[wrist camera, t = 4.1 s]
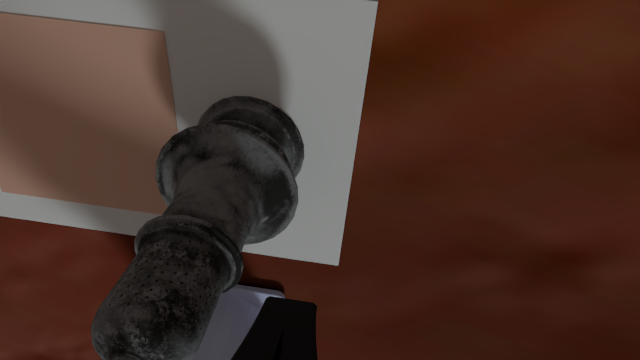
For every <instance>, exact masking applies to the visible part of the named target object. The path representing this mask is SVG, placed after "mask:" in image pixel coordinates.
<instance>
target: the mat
mask: <svg viewBox="0 0 640 360" xmlns="http://www.w3.org/2000/svg"><path fill="white" fill-rule="evenodd" d="M377 5H378V0H0V216H5V217H12V218H18V219H25V220H32V221H39V222H45V223H52V224H59V225H66V226H72V227H79V228H86V229H93V230H100V231H106V232H113V233H120V234H127V235H133V236H136V235H137V232H138V230H139V229H140V228H141V227H142V226H143V225H144V224H145V223H146V222H147V221H149V220H151V219H153V218H156V217H158V216H162V214H163V213H164V212H165V210H166V209H167V208H168V207H167V205H166V203H165V202H164V200H163V198H162V196H161V195H160V192H159V189H158V185H157V182H156V161H157V159H158V156H159V153H160V151H161V148H162V147H163V146H164V145H165V144H166V143H167V142H168V141H169V139H170V138H171V137H172V136H173V135H175V134H177V133H179V132H180V131H182V130H184V129H186V128H188V127H192V126H197V124H198V122H199V120H200V117H201V116H202V114H203V113H204V112H205V111H206V110H207V109H208V108H209V107H210V106H211V105H212V104H214V103H216V102H218V101H219V100H221V99H224V98H229V97H233V96H252V97H255V98H258V99H262V100H265V101H268V102H269V103H271V104H273V105H275V106H276V107H278V108H280V109H281V110H282V111H283V112H284V113H285V114H286V115H287V116H289V117H290V118H291V119H292V121H293V122H294V124H295V125H296V127H297V128H298V130H299V132H300V134H301V137H302V141H303V144H304V160H303V164H302V167H301V171H300V172H299V174H298V175H297V177H296V178H295V180H296V183H297V186H298V205H297V208H296V212H295V215H294V218H293V219H292V221H291V222H290V223H289V225H288V226H287V228H286V229H285V230H283V231H282V232H281V233H279V234H278V235H277V236H275V237H274V238H271V239H269V240H266V241H263V242H261V243H255V244H247V245H244V247H243V249H242V252H249V253H255V254H262V255H269V256H276V257H282V258H289V259H296V260H303V261H309V262H316V263H323V264H330V265H337V266H338V264H339V257H340V251H341V244H342V237H343V231H344V224H345V217H346V211H347V204H348V198H349V191H350V184H351V178H352V171H353V164H354V158H355V151H356V144H357V138H358V131H359V125H360V118H361V111H362V105H363V98H364V91H365V85H366V78H367V72H368V65H369V58H370V52H371V45H372V38H373V32H374V25H375V18H376V12H377Z"/></svg>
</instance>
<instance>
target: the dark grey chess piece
mask: <svg viewBox="0 0 640 360" xmlns="http://www.w3.org/2000/svg"><path fill="white" fill-rule="evenodd" d="M303 160H304V144H303V141H302V137H301V134H300V132H299V130H298V128H297V127H296V125H295V124H294V122H293V121H292V119H291V118H290V117H289V116H287V115H286V114H285V113H284V112H283V111H282V110H281V109H280V108H278V107H276V106H275V105H273V104H271V103H269V102H268V101H265V100H262V99H258V98H255V97H252V96H233V97H229V98H224V99H221V100H219V101H218V102H216V103H214V104H212V105H211V106H210V107H209V108H208V109H207V110H206V111H205V112H204V113H203V114H202V116H201V117H200V120H199V122H198V124H197V126H192V127H188V128H186V129H184V130H182V131H180V132H179V133H177V134H175V135H173V136H172V137H171V138H170V139H169V141H168V142H167V143H166V144H165V145H164V146H163V147H162V148H161V151H160V153H159V156H158V159H157V161H156V182H157V185H158V189H159V192H160V195H161V196H162V198H163V200H164V202H165V203H166V205H167V207H168V208H167V209H166V210H165V212H164V213H163V214H162V216H158V217H156V218H153V219H151V220H149V221H147V222H146V223H145V224H144V225H143V226H142V227H141V228H140V229H139V230H138V232H137V235H136V237H135V240H134V250H135V253H136V256H135V258H134V259H133V261H132V262H131V263H130V265H129V266H128V268H127V269H126V270H125V272H124V273H123V275H122V276H121V277H120V279H119V280H118V282H117V283H116V284H115V286H114V287H113V289H112V290H111V291H110V293H109V294H108V296H107V297H106V298H105V300H104V301H103V303H102V304H101V305H100V307H99V308H98V310H97V313H96V315H95V317H94V320H93V322H92V325H91V333H92V343H93V346H94V348H95V350H96V352H97V353H98V355H99V356H100V358H101V359H102V360H192V358H193V357H194V355H195V354H196V353H197V351H198V349H199V347H200V344H201V342H202V340H203V337H204V335H205V332H206V330H207V328H208V325H209V323H210V320H211V318H212V316H213V313H214V311H215V308H216V306H217V303H218V301H219V299H220V296H221V294H222V293H225V292H227V291H229V290H230V289H232V288H233V287H235V286H236V284H237V283H238V281H239V280H240V279H241V276H242V272H243V267H244V266H243V259H242V255H241V251H242V249H243V247H244V245H247V244H255V243H261V242H263V241H266V240H269V239H271V238H274V237H275V236H277V235H278V234H279V233H281V232H282V231H283V230H285V229H286V228H287V226H288V225H289V223H290V222H291V221H292V219H293V218H294V215H295V212H296V208H297V205H298V186H297V183H296V180H295V178H296V177H297V175H298V174H299V172H300V171H301V167H302V164H303Z"/></svg>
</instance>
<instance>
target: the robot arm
mask: <svg viewBox="0 0 640 360" xmlns="http://www.w3.org/2000/svg"><path fill="white" fill-rule="evenodd" d="M316 311H317V306H316V305H315V304H314V303H311V302H304V301H298V300H291V299H285V295H284V294H283V293H282V292H280V291H277V290H270V289H264V288H257V287H251V286H244V285H238V284H236V286H235V287H233V288H232V289H230V290H229V291H227V292H225V293H222V294H221V296H220V299H219V301H218V303H217V306H216V308H215V311H214V313H213V316H212V318H211V320H210V323H209V325H208V328H207V330H206V332H205V335H204V337H203V340H202V342H201V344H200V347H199V349H198V351H197V353H196V354H195V355H194V357H193V358H192V360H317V348H316Z"/></svg>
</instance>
